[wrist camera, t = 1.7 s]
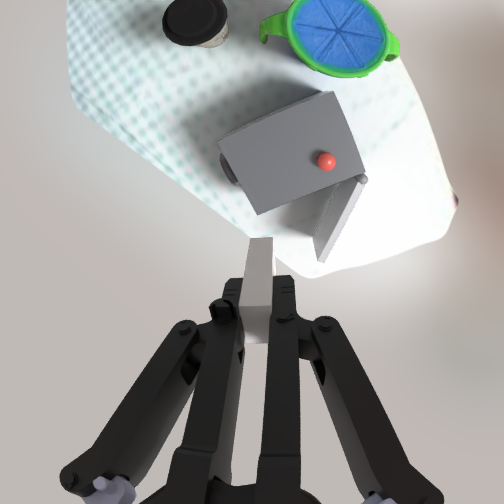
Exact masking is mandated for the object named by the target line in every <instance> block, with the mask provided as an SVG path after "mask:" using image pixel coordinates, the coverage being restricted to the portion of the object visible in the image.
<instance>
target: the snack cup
mask: <svg viewBox="0 0 504 504" xmlns="http://www.w3.org/2000/svg"><path fill="white" fill-rule="evenodd" d="M267 34H273V35H278V36H282V37H284V38H286V39H287V40H288V42H289V44H290V46H291V48H292V49H293V51H294V52H295V53H296V55H297V56H298V57H299V58H300V59H301V60H302V61H303V62H304V63H305V65H306V66H308V67H309V68H310V69H312V70H314V71H318V72H320V73H323V74H326V75H329V76H332V77H338V78H353V77H358V78H361V77H364V76H367V75H368V74H369V73H370V72H372V71H374V70H375V69H376V68H378V67H379V66H380V65H381V63H382V62H383V61H384V60H385V61H389V62H390V61H393V60H394V59H396V58H397V57H398V56H399V46H400V45H399V40H398V39H397V37H396V36H395V35H394V34H392V33H391V32H390V31H389V30H388V28H387V26H386V23H385V21H384V19H383V17H382V16H381V14H380V13H379V12H378V10H377V9H376V8H375V7H374V6H373V5H372V4H370V3H369V2H368V1H367V0H294V2H293V3H292V4H291V6H290V7H289V9H288V10H287V11H285V12H282V13H279V14H276V15H273V16H270V17H268V18H266V19H264V20H263V21H262V22H261V23H260V41H261V43H262V44H265V43H266V42H267V39H268V35H267Z"/></svg>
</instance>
